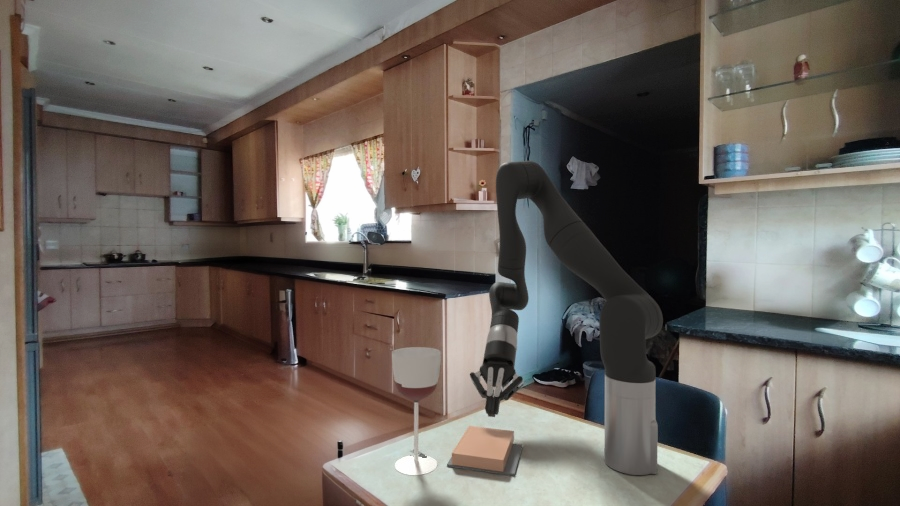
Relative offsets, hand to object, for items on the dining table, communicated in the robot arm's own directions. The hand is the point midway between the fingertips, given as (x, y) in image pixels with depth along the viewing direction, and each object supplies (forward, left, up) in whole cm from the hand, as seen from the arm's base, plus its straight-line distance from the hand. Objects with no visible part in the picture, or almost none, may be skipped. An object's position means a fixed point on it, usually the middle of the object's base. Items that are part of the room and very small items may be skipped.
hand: (491, 415), depth 97 cm
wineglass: (+12, +14, -6) cm, 20 cm away
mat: (0, +7, -6) cm, 9 cm away
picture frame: (0, -1, -4) cm, 4 cm away
